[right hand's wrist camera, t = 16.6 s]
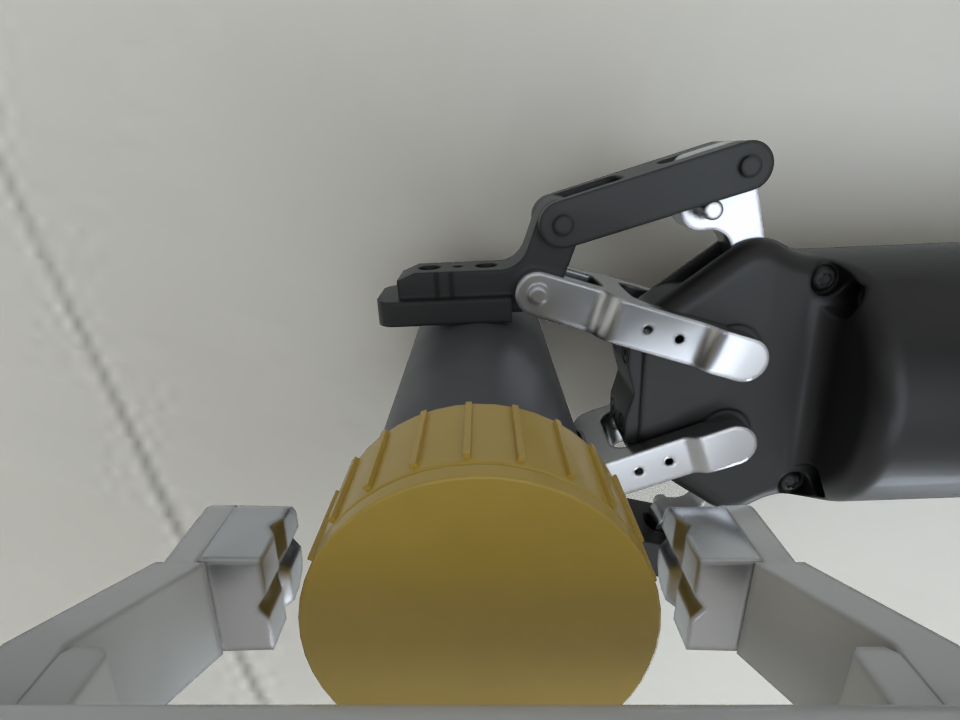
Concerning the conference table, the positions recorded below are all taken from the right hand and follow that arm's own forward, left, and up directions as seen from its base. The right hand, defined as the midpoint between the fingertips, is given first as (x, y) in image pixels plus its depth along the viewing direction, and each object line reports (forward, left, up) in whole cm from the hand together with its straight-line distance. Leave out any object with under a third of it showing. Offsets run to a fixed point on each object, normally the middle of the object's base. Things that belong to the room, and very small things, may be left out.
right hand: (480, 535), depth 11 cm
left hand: (-3, 0, -7) cm, 8 cm away
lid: (0, 0, +2) cm, 2 cm away
